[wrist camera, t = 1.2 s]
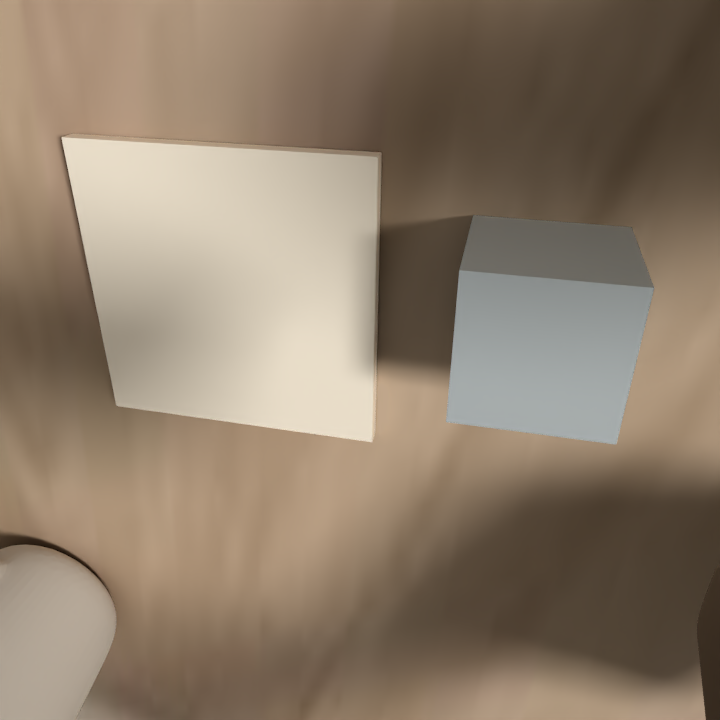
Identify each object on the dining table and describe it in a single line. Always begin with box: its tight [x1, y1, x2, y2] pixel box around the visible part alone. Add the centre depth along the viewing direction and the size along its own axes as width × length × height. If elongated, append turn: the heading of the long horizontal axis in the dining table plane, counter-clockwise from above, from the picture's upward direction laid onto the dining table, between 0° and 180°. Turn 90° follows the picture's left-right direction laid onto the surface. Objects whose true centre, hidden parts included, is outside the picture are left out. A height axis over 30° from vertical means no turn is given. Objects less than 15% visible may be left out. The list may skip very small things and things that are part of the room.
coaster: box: [61, 134, 382, 442], centre depth 21 cm, size 9×9×1 cm
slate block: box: [446, 215, 654, 444], centre depth 17 cm, size 4×4×4 cm
